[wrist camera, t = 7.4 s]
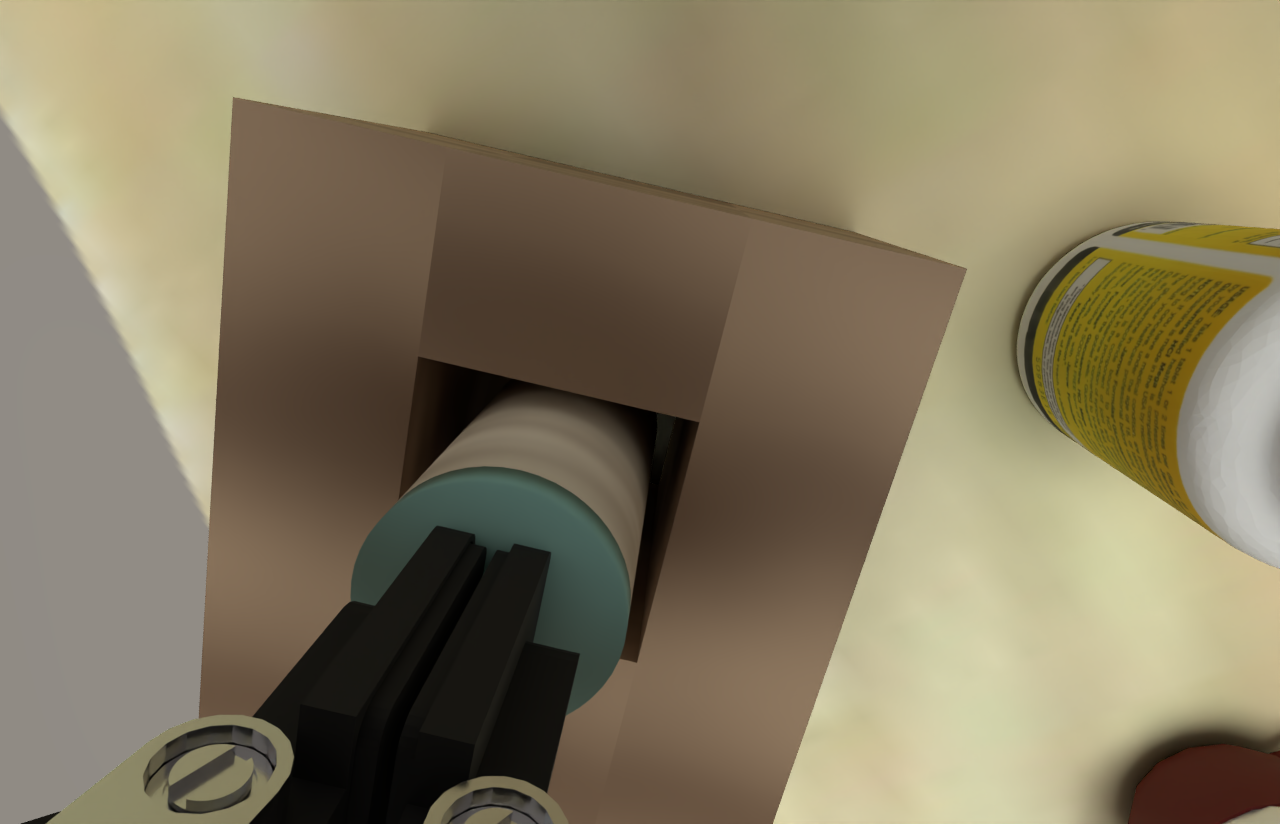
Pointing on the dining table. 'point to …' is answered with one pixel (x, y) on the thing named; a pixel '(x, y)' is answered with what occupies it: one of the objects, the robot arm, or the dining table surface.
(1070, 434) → the pill bottle
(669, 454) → the socket block
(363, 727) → the robot arm
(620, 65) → the dining table surface
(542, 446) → the peg
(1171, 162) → the dining table surface
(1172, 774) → the cocoa
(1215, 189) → the dining table surface
